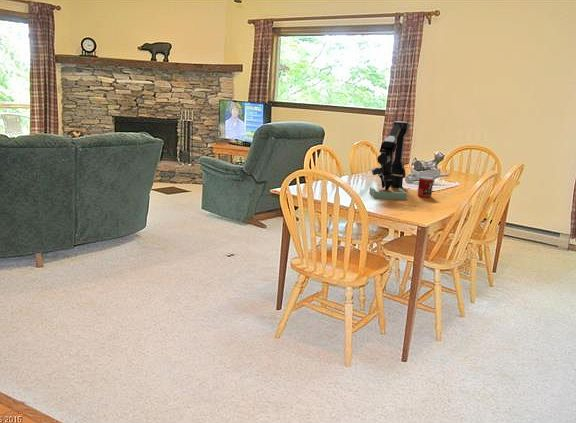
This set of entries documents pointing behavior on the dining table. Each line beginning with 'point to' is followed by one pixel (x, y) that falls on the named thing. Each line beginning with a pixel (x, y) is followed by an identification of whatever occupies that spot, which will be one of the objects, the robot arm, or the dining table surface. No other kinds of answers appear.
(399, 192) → the box
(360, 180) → the dining table surface
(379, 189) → the tan wooden block
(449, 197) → the dining table surface
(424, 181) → the canned food
